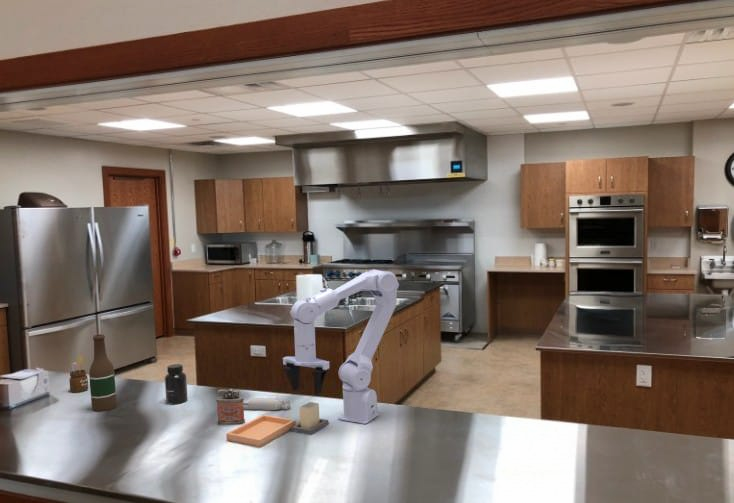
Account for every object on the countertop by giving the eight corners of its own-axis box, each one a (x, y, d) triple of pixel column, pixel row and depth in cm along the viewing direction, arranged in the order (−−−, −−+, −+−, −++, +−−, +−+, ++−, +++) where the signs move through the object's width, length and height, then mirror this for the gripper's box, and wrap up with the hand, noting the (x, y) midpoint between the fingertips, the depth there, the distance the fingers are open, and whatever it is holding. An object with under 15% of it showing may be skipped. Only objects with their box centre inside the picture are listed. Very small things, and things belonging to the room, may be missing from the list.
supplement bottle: (165, 405, 191) (162, 369, 190) (167, 399, 198) (164, 364, 197) (187, 403, 193) (184, 367, 192) (188, 396, 199) (186, 362, 199)
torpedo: (232, 412, 183) (230, 391, 183) (238, 406, 188) (236, 386, 187) (288, 412, 180) (286, 391, 180) (292, 407, 185) (291, 387, 184)
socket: (328, 424, 169) (328, 419, 168) (311, 434, 161) (311, 430, 161) (309, 420, 172) (309, 416, 172) (291, 431, 164) (291, 427, 164)
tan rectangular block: (319, 425, 168) (318, 403, 167) (309, 431, 164) (308, 408, 163) (311, 424, 169) (309, 401, 169) (300, 430, 165) (299, 407, 165)
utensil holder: (67, 393, 209) (64, 360, 208) (74, 388, 216) (71, 356, 215) (84, 392, 210) (81, 359, 209) (91, 387, 216) (88, 355, 215)
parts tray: (295, 426, 167) (295, 420, 167) (260, 447, 154) (259, 440, 154) (263, 421, 173) (263, 414, 173) (226, 440, 160) (226, 433, 160)
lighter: (246, 420, 174) (244, 387, 174) (242, 425, 171) (240, 391, 170) (220, 420, 175) (217, 387, 174) (216, 425, 172) (213, 391, 171)
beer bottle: (121, 407, 192) (115, 334, 190) (96, 413, 187) (90, 339, 185) (112, 402, 198) (106, 331, 196) (88, 408, 192) (81, 335, 190)
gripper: (275, 344, 165) (277, 392, 166) (318, 349, 157) (320, 399, 158) (290, 339, 171) (292, 385, 172) (332, 343, 164) (334, 392, 164)
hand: (306, 391), depth 165 cm, fingers open, 7 cm apart
